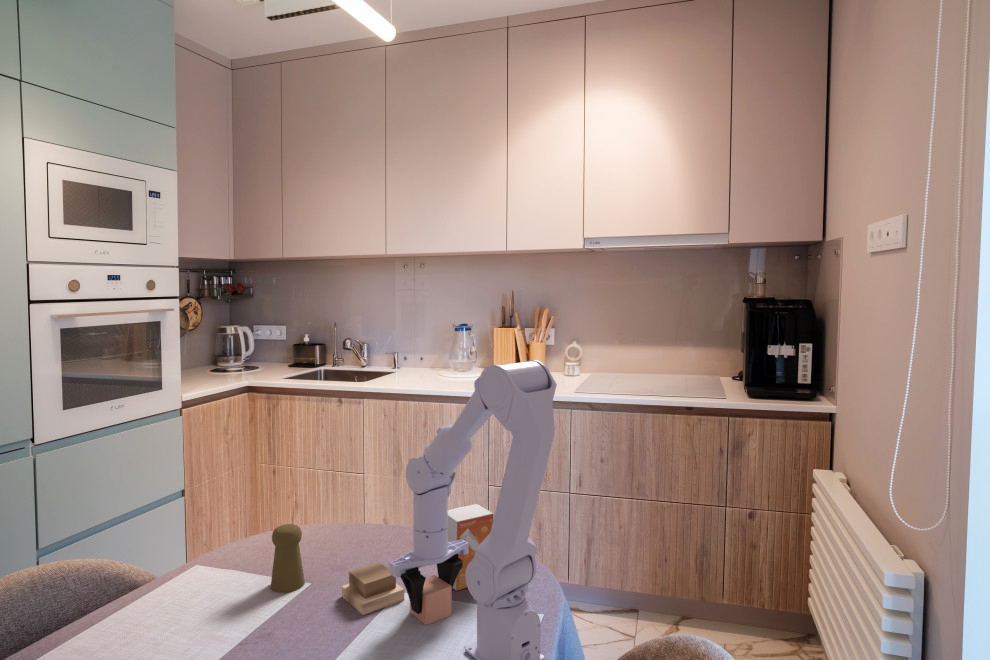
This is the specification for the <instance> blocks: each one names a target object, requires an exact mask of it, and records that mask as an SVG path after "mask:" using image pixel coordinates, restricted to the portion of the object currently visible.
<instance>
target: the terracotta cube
mask: <svg viewBox="0 0 990 660" xmlns="http://www.w3.org/2000/svg"><path fill="white" fill-rule="evenodd" d="M409 613H410V614H411V615H413V616H414V617H415V618H417V620H419V621H420V622H421V623H422V624H423V625H425V626H429V625H430V624H433V623H435V622H438V621H440V620H443V619H446V618H447V617H450V616H452V592H451V585H449V584H448V583H446V582H445V581H443V580H442V579H440V578H439V577H438V576H437V575H436V574H435V575H434V574H433V575H431V576H429V577H426V579H425V583H424V587H423V594H422V612H421V613H419V614H417V613H416V612H414V611H413V610H412V609H411V604H410V603H409Z"/></svg>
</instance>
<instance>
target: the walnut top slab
mask: <svg viewBox="0 0 990 660" xmlns="http://www.w3.org/2000/svg"><path fill="white" fill-rule="evenodd" d="M396 583H397V578H395V577H393V576H392V575H391V574H390V568H389V567H386V565H384V564H383V563H381V562H379V561H378V562H376V563H372V564H370V565H366V566H363V567H359V568H357V569H353V570H350V571H348V584H349V586H351V587H352V588H353V589H354V590H355V591H357V592H358V593H359V594H360V595H361V596H363V597H364V598H368V597H371V596H374V595H376V594H379V593H382V592H385V591H388V590H391V589H394V588H396Z"/></svg>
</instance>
